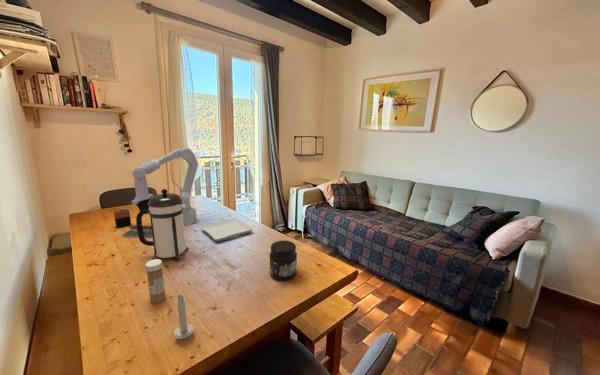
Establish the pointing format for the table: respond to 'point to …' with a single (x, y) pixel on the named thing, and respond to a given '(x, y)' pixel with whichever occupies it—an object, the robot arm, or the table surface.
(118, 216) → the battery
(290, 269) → the supplement container
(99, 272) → the table surface
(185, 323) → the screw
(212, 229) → the salad plate
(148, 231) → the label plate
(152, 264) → the sprinkles bottle
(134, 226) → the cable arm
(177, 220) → the coffee press
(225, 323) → the table surface
